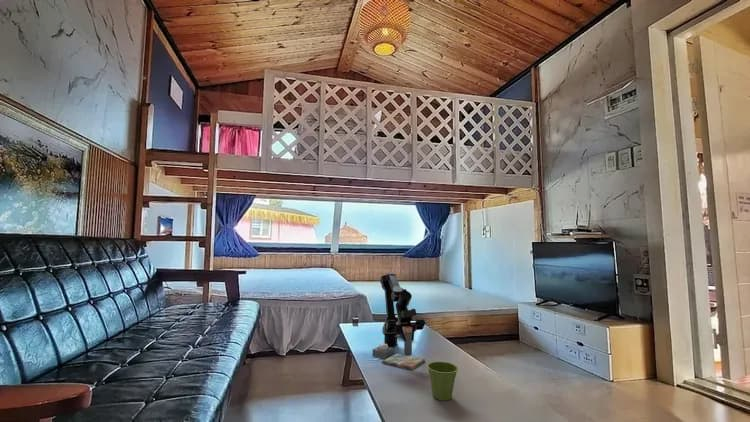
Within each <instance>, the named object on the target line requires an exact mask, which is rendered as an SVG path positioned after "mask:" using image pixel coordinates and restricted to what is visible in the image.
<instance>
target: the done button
mask: <svg viewBox="0 0 750 422" xmlns="http://www.w3.org/2000/svg"><path fill="white" fill-rule="evenodd" d="M378 347H379V350H383V351H386V350H388V344H384V343H379V344H378Z"/></svg>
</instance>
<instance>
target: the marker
mask: <svg viewBox="0 0 750 422" xmlns="http://www.w3.org/2000/svg"><path fill="white" fill-rule="evenodd" d="M404 336H405V342H404V341H403V343H404V344H403V345H404V346H403V349H404V350H403V355H406V356H411V357H412V354H413V353H412V352H413V341H412V327H408V326H407V327H404Z"/></svg>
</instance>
